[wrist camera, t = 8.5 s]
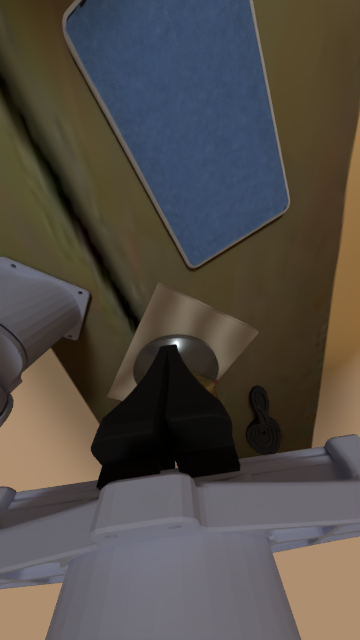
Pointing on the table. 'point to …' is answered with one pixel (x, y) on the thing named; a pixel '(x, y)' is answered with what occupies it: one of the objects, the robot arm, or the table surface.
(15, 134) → the table surface
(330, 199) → the table surface
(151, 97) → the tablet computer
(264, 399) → the hairbrush
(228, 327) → the dial board
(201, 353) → the dial
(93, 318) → the table surface
